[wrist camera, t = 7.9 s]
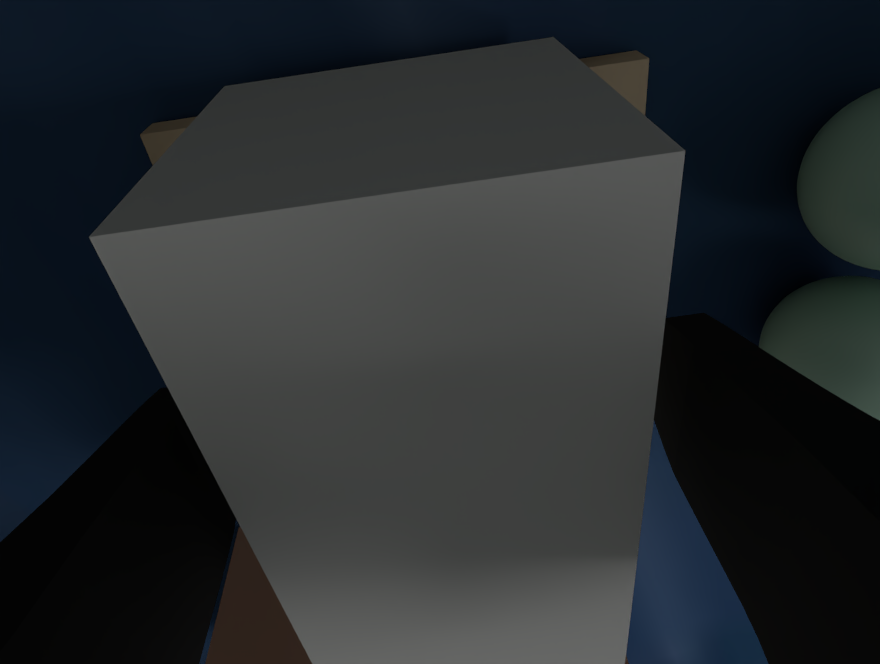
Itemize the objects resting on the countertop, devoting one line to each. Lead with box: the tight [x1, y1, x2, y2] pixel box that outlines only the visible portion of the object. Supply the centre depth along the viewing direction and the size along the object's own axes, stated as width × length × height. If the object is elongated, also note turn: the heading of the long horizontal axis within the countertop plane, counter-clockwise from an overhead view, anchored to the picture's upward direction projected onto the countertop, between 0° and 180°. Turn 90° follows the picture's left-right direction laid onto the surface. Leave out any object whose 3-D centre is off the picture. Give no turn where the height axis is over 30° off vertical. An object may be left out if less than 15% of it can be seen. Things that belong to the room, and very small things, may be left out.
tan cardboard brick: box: [205, 527, 629, 664], centre depth 15 cm, size 9×5×5 cm, turn 97°
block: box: [89, 37, 685, 664], centre depth 10 cm, size 9×5×5 cm, turn 7°
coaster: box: [140, 50, 649, 165], centre depth 12 cm, size 8×8×1 cm
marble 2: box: [759, 276, 880, 421], centre depth 12 cm, size 3×3×3 cm
